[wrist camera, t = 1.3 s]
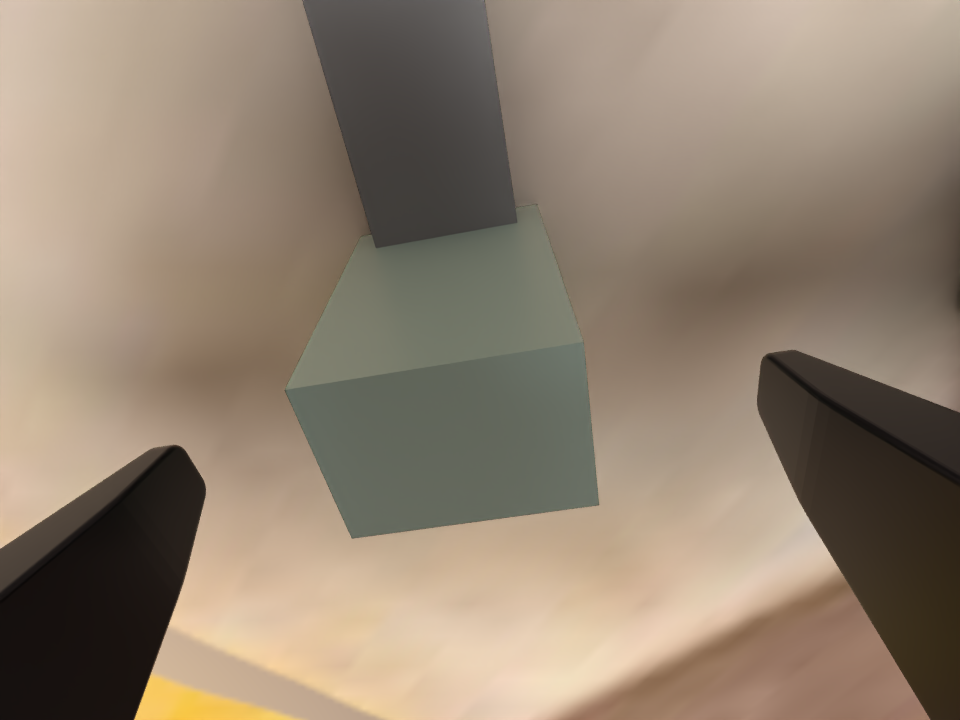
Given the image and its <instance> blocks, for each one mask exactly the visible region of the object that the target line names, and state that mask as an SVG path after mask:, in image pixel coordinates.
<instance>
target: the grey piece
mask: <svg viewBox="0 0 960 720" xmlns="http://www.w3.org/2000/svg"><path fill="white" fill-rule="evenodd" d="M302 1H303V4H304V7H305V11H306V14H307V18H308V21H309V24H310V28H311V31H312V34H313V38H314V41H315V45H316V48H317V51H318V55H319V58H320V62H321V65H322V68H323V72H324V75H325V78H326V82H327V85H328V89H329V92H330V95H331V99H332V102H333V105H334V109H335V112H336V116H337V119H338V122H339V126H340V129H341V132H342V136H343V139H344V143H345V146H346V149H347V153H348V156H349V160H350V163H351V166H352V170H353V173H354V176H355V180H356V183H357V187H358V190H359V193H360V197H361V200H362V203H363V207H364V210H365V214H366V217H367V220H368V224H369V227H370V230H371V235H365V236H361V237H360V239H359V241H358V243H357V245H356V247H355V249H354V251H353V253H352V255H351V257H350V259H349V261H348V263H347V265H346V267H345V269H344V271H343V273H342V275H341V277H340V279H339V281H338V283H337V285H336V287H335V289H334V291H333V293H332V295H331V297H330V299H329V301H328V303H327V305H326V307H325V310H324V312H323V314H322V316H321V318H320V320H319V322H318V324H317V326H316V328H315V330H314V332H313V334H312V336H311V338H310V340H309V342H308V344H307V346H306V348H305V350H304V352H303V354H302V356H301V358H300V360H299V362H298V364H297V366H296V368H295V370H294V372H293V374H292V376H291V378H290V380H289V382H288V384H287V386H286V388H285V392H286V394H287V396H288V399H289V401H290V403H291V405H292V407H293V410H294V412H295V414H296V416H297V418H298V421H299V423H300V425H301V427H302V429H303V432H304V434H305V436H306V438H307V440H308V443H309V445H310V447H311V449H312V452H313V454H314V456H315V458H316V460H317V463H318V465H319V467H320V469H321V471H322V474H323V476H324V478H325V480H326V482H327V485H328V487H329V489H330V491H331V493H332V496H333V498H334V500H335V502H336V504H337V507H338V509H339V511H340V513H341V516H342V518H343V520H344V522H345V524H346V527H347V529H348V531H349V533H350V535H351V538H360V537H367V536H375V535H382V534H389V533H397V532H404V531H412V530H419V529H426V528H434V527H441V526H449V525H456V524H463V523H471V522H478V521H486V520H493V519H500V518H508V517H515V516H523V515H530V514H537V513H545V512H552V511H560V510H567V509H574V508H582V507H589V506H596V505H599V499H598V488H597V478H596V467H595V457H594V446H593V435H592V425H591V414H590V404H589V393H588V382H587V372H586V361H585V351H584V341H583V338H582V335H581V333H580V330H579V327H578V324H577V321H576V318H575V315H574V312H573V309H572V306H571V303H570V300H569V297H568V294H567V291H566V288H565V285H564V282H563V279H562V277H561V274H560V271H559V268H558V265H557V262H556V259H555V256H554V253H553V250H552V247H551V244H550V241H549V238H548V235H547V232H546V229H545V226H544V223H543V221H542V218H541V215H540V212H539V209H538V206H537V204H534V205H529V206H523V207H518V208H515V202H514V196H513V189H512V182H511V175H510V169H509V162H508V155H507V149H506V142H505V135H504V128H503V122H502V115H501V108H500V101H499V95H498V88H497V81H496V75H495V68H494V61H493V54H492V48H491V41H490V34H489V27H488V21H487V14H486V7H485V1H484V0H302Z"/></svg>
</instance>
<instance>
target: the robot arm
mask: <svg viewBox="0 0 960 720" xmlns="http://www.w3.org/2000/svg"><path fill="white" fill-rule="evenodd" d="M757 406H758V411H759V414H760V417H761V419H762V421H763V423H764V426H765V428H766V430H767V432H768V434H769V437H770V439H771V441H772V443H773V445H774V448H775V450H776V452H777V454H778V457H779V459H780V461H781V463H782V465H783V468H784V470H785V472H786V474H787V476H788V479H789V481H790V483H791V485H792V487H793V490H794V492H795V494H796V496H797V498H798V500H799V502H800V504H801V505H802V507H803V509H804V511H805V513H806V514H807V516H808V518H809V519H810V521H811V523H812V524H813V526H814V528H815V529H816V531H817V533H818V534H819V536H820V538H821V539H822V541H823V543H824V544H825V546H826V548H827V549H828V551H829V553H830V554H831V556H832V558H833V559H834V561H835V562H836V564H837V566H838V567H839V569H840V571H841V572H842V574H843V576H844V577H845V579H846V581H847V582H848V584H849V586H850V587H851V589H852V591H853V592H854V594H855V596H856V597H857V599H858V601H859V602H860V604H861V605H862V607H863V609H864V610H865V612H866V614H867V615H868V617H869V619H870V620H871V622H872V624H873V625H874V627H875V629H876V630H877V632H878V634H879V635H880V637H881V639H882V640H883V642H884V644H885V645H886V647H887V648H888V650H889V652H890V653H891V655H892V657H893V658H894V660H895V662H896V663H897V665H898V667H899V668H900V670H901V672H902V673H903V675H904V677H905V678H906V680H907V682H908V683H909V685H910V687H911V688H912V690H913V692H914V693H915V695H916V696H917V698H918V700H919V701H920V703H921V705H922V706H923V708H924V710H925V711H926V713H927V715H928V716H929V718H930V720H960V413H959V412H956V411H954V410H951V409H948V408H946V407H943V406H941V405H938V404H935V403H933V402H930V401H927V400H925V399H922V398H920V397H917V396H914V395H912V394H909V393H907V392H904V391H901V390H899V389H896V388H893V387H891V386H888V385H886V384H883V383H880V382H878V381H875V380H872V379H870V378H867V377H865V376H862V375H859V374H857V373H854V372H852V371H849V370H846V369H844V368H841V367H838V366H836V365H833V364H831V363H828V362H825V361H823V360H820V359H818V358H815V357H812V356H810V355H807V354H804V353H802V352H799V351H796V350H787V351H781V352H775V353H769V354H766V355H765V356H764V357H763V359H762V361H761V366H760V376H759V385H758V395H757ZM205 496H206V487H205V483H204V480H203V478H202V477H201V475H200V473H199V472H198V470H197V469H196V467H195V465H194V464H193V462H192V460H191V459H190V457H189V456H188V454H187V452H186V451H185V450H184V449H183V448H182V447H181V446H178V445H170V446H163V447H157V448H153V449H150V450H148V451H147V452H145V453H144V454H142V455H141V456H139V457H138V458H136V459H135V460H133V461H132V462H130V463H129V464H127V465H126V466H124V467H123V468H121V469H120V470H118V471H117V472H115V473H114V474H112V475H111V476H109V477H108V478H106V479H105V480H103V481H102V482H100V483H99V484H97V485H96V486H94V487H93V488H91V489H90V490H88V491H87V492H85V493H84V494H82V495H81V496H79V497H78V498H76V499H75V500H73V501H72V502H70V503H69V504H67V505H66V506H64V507H63V508H61V509H60V510H58V511H57V512H55V513H54V514H52V515H51V516H49V517H48V518H46V519H45V520H43V521H42V522H40V523H39V524H37V525H36V526H34V527H33V528H31V529H30V530H28V531H27V532H25V533H24V534H22V535H21V536H19V537H18V538H16V539H15V540H13V541H11V542H10V543H8V544H7V545H5V546H4V547H2V548H1V549H0V720H134V719H135V716H136V713H137V711H138V708H139V705H140V702H141V700H142V697H143V694H144V691H145V689H146V686H147V683H148V680H149V678H150V675H151V672H152V669H153V667H154V664H155V661H156V658H157V655H158V653H159V650H160V647H161V644H162V641H163V639H164V636H165V633H166V631H167V628H168V625H169V622H170V620H171V617H172V614H173V611H174V609H175V606H176V603H177V600H178V597H179V594H180V591H181V589H182V586H183V582H184V579H185V575H186V572H187V568H188V564H189V560H190V556H191V552H192V548H193V544H194V540H195V536H196V532H197V528H198V524H199V520H200V516H201V512H202V508H203V504H204V500H205Z"/></svg>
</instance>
